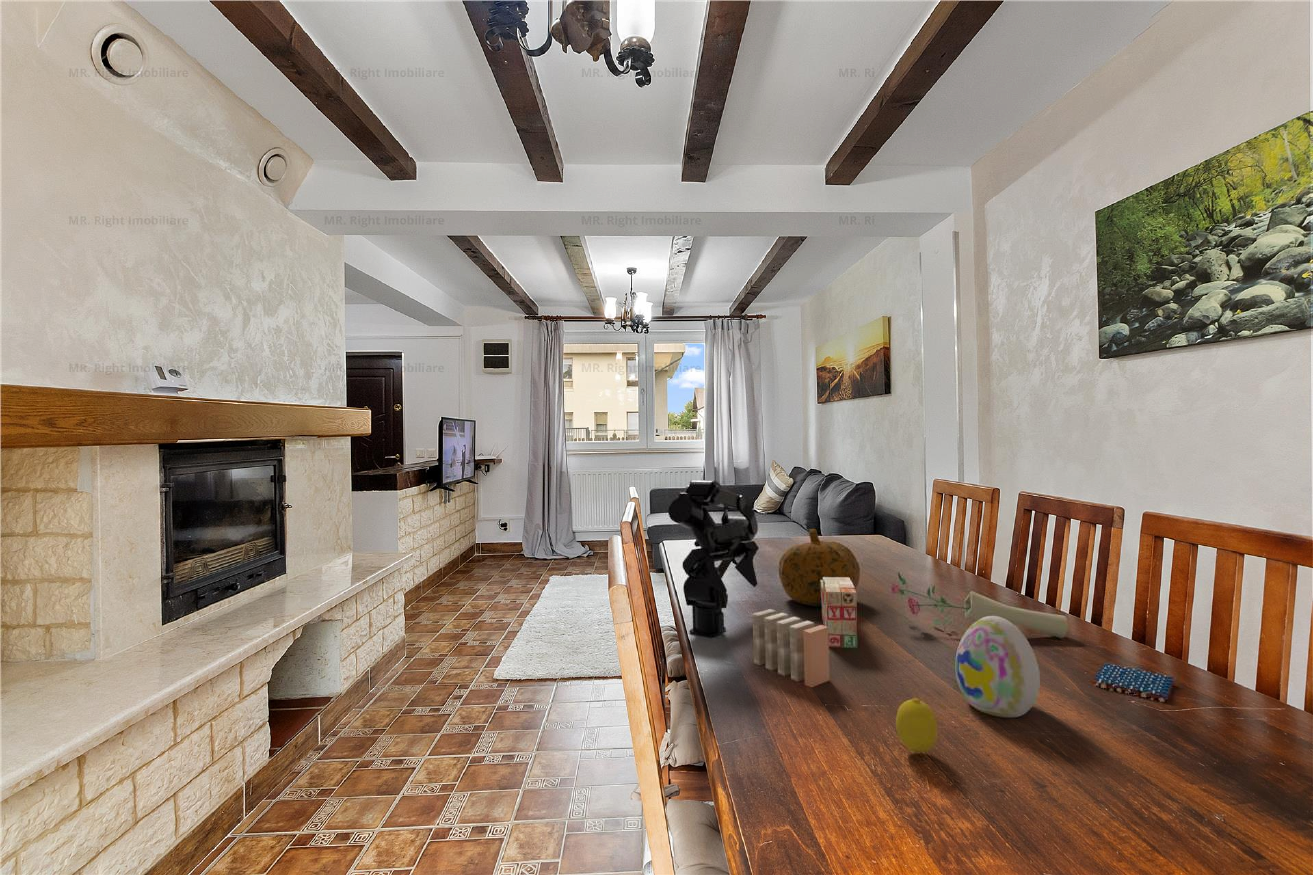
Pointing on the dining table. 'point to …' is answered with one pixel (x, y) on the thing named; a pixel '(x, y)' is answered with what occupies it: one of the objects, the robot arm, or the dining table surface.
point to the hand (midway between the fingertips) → (741, 589)
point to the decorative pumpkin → (815, 568)
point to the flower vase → (993, 612)
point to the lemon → (916, 725)
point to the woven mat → (1134, 681)
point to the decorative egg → (997, 668)
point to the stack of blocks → (839, 611)
